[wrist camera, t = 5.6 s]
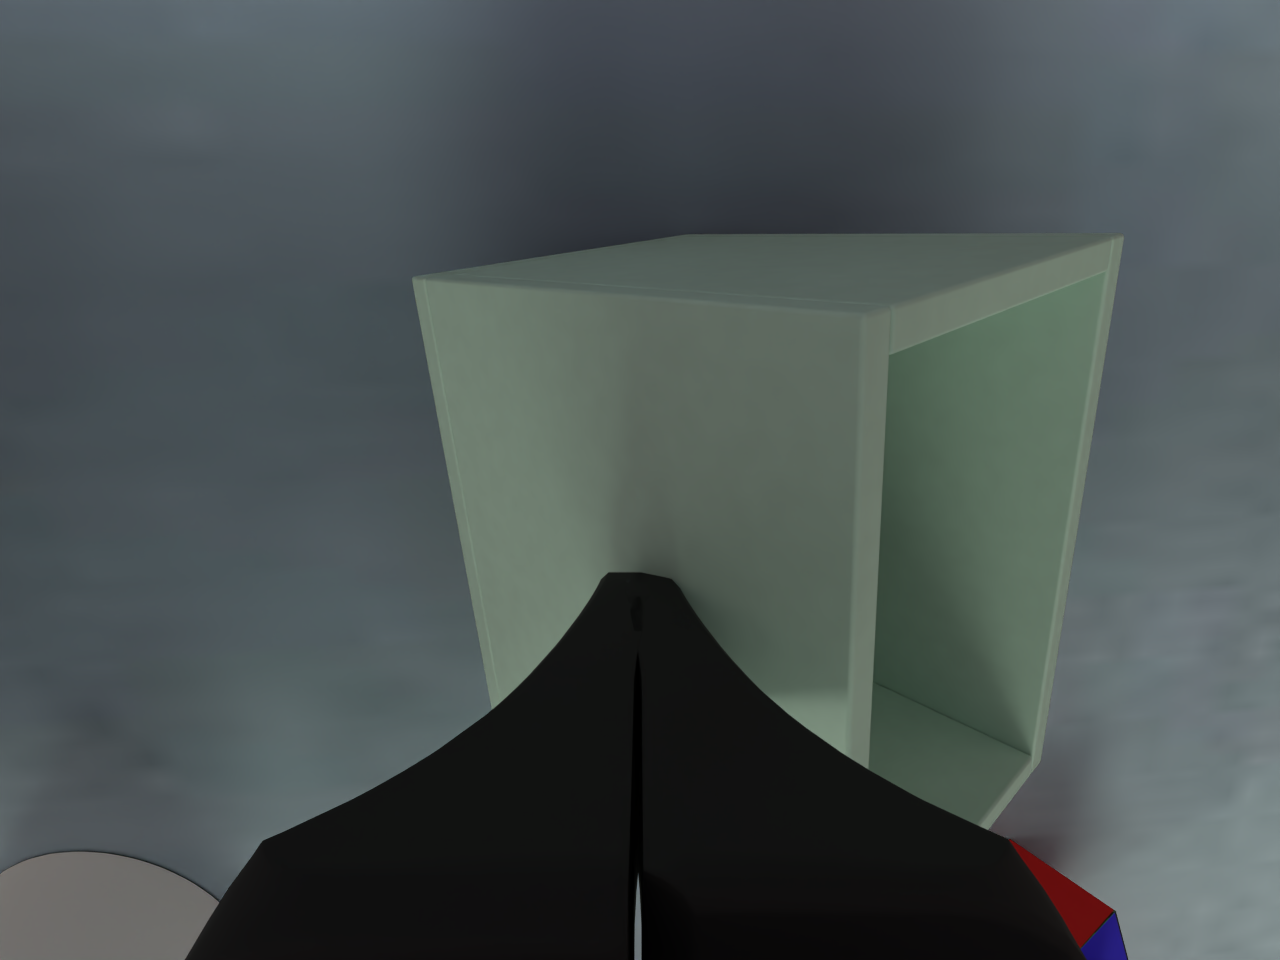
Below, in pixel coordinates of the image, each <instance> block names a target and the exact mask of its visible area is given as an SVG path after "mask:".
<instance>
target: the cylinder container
mask: <svg viewBox="0 0 1280 960" xmlns="http://www.w3.org/2000/svg"><path fill="white" fill-rule="evenodd" d="M218 904H219V902H218V901H217V900H216V899H215V898H213V897H212V896H211V895H210V894H208V893H207V892H205V891H204V890H202V889H201V888H200V887H198V886H197V885H195V884H193V883H192V882H190V881H188V880H187V879H185V878H183V877H181V876H179V875H177V874H175V873H173V872H170V871H168V870H166V869H164V868H161V867H158V866H156V865H153V864H150V863H147V862H144V861H140V860H137V859H133V858H129V857H124V856H119V855H114V854H107V853H97V852H64V853H54V854H48V855H43V856H39V857H35V858H31V859H28V860H25V861H23V862H21V863H18V864H16V865H14V866H12V867H10V868H8V869H7V870H5V871H3V872H2V873H1V874H0V960H185V958H186V957H187V955H188V953H189V952H190V950H191V948H192V947H193V945H194V943H195V942H196V940H197V938H198V937H199V935H200V933H201V931H202V930H203V928H204V926H205V925H206V923H207V921H208V920H209V918H210V916H211V915H212V913H213V912H214V910H215V909H216V907H217V906H218Z"/></svg>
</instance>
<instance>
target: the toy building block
mask: <svg viewBox="0 0 1280 960" xmlns="http://www.w3.org/2000/svg"><path fill="white" fill-rule="evenodd" d="M1009 841H1010V842H1011V843H1012V845H1013V846H1014V848H1015V849H1016V851H1017V852H1018V854H1019V855H1020V857H1021V858H1022V859H1023V861H1024V862H1025V864H1026V865H1027V866H1028V868H1029V869H1030V870H1031V872H1032V873H1033V874H1034V876H1035V877H1036V879H1037V880H1038V881H1039V883H1040V884H1041V885H1042V887H1043V888H1044V890H1045V891H1046V893H1047V894H1048V896H1049V898H1050V899H1051V901H1052V902H1053V904H1054V905H1055V907H1056V908H1057V910H1058V912H1059V913H1060V915H1061V916H1062V918H1063V920H1064V921H1065V923H1066V925H1067V927H1068V928H1069V930H1070V932H1071V934H1072V935H1073V937H1074V939H1075V940H1076V942H1077V944H1078V945H1079V947H1080V949H1081V951H1082V952H1083V954H1084V956H1085V957H1086V959H1087V960H1128V957H1127V953H1126V949H1125V945H1124V941H1123V937H1122V934H1121V930H1120V926H1119V922H1118V918H1117V914H1116V911H1115V910H1113V909H1112V908H1110V907H1109V906H1107V905H1106V904H1104V903H1103V902H1102V901H1100V900H1099V899H1097V898H1096V897H1094V896H1093V895H1091V894H1090V893H1088V892H1087V891H1085V890H1084V889H1082V888H1081V887H1080V886H1078V885H1077V884H1075V883H1074V882H1072V881H1071V880H1069V879H1068V878H1066V877H1065V876H1063V875H1062V874H1060V873H1059V872H1058V871H1056V870H1055V869H1053V868H1052V867H1050V866H1049V865H1047V864H1046V863H1044V862H1043V861H1041V860H1040V859H1039V858H1037V857H1036V856H1034V855H1033V854H1031V853H1030V852H1028V851H1027V850H1025V849H1024V848H1022V847H1021V846H1019V845H1018V844H1017V843H1015V842H1014V841H1012V840H1011V839H1009Z"/></svg>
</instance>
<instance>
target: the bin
mask: <svg viewBox="0 0 1280 960" xmlns="http://www.w3.org/2000/svg"><path fill="white" fill-rule="evenodd" d="M1123 240H1124V236H1123V234H1121V233H969V234H701V235H700V234H686V235H679V236H673V237H666V238H660V239H653V240H647V241H640V242H634V243H627V244H621V245H614V246H608V247H601V248H595V249H588V250H582V251H575V252H569V253H562V254H556V255H549V256H543V257H536V258H530V259H523V260H517V261H510V262H504V263H497V264H491V265H485V266H478V267H472V268H465V269H459V270H452V271H446V272H439V273H433V274H426V275H420V276H415V277H413V278H412V282H413V288H414V293H415V298H416V304H417V309H418V315H419V320H420V325H421V331H422V336H423V341H424V347H425V352H426V358H427V363H428V368H429V374H430V379H431V384H432V390H433V395H434V401H435V406H436V411H437V417H438V422H439V427H440V433H441V438H442V444H443V449H444V454H445V460H446V465H447V471H448V476H449V481H450V487H451V492H452V497H453V503H454V508H455V514H456V519H457V524H458V530H459V535H460V540H461V546H462V551H463V557H464V562H465V567H466V573H467V578H468V583H469V589H470V594H471V600H472V605H473V610H474V616H475V621H476V626H477V632H478V637H479V643H480V648H481V653H482V659H483V664H484V669H485V675H486V680H487V686H488V691H489V696H490V702H491V707H492V709H493V708H495V707H496V706H497V705H498V704H499V703H500V702H501V701H503V700H504V699H505V698H506V697H507V696H508V695H509V694H510V693H511V692H512V691H513V690H514V689H516V688H517V687H518V686H519V685H520V684H521V683H522V682H523V681H524V680H525V679H526V678H527V677H528V676H529V675H530V673H531V672H532V671H533V670H534V669H535V668H536V667H537V666H538V665H539V663H540V662H541V661H542V660H543V659H544V658H545V657H546V656H547V655H548V653H549V652H550V651H551V650H552V649H553V648H554V647H555V646H556V644H557V643H558V642H559V641H560V639H561V638H562V637H563V636H564V634H565V633H566V632H567V630H568V629H569V628H570V626H571V625H572V624H573V622H574V621H575V620H576V618H577V617H578V616H579V614H580V613H581V611H582V610H583V609H584V607H585V606H586V604H587V603H588V601H589V600H590V598H591V596H592V595H593V593H594V591H595V590H596V588H597V586H598V584H599V582H600V580H601V579H602V578H603V577H604V576H605V575H606V574H607V573H608V572H642V573H647V574H652V575H657V576H661V577H666V578H670V579H672V580H673V581H674V582H675V583H676V584H677V585H678V586H679V587H680V589H681V591H682V592H683V594H684V596H685V597H686V599H687V601H688V602H689V604H690V605H691V607H692V608H693V610H694V611H695V613H696V614H697V616H698V617H699V618H700V620H701V621H702V623H703V624H704V625H705V627H706V628H707V629H708V631H709V632H710V633H711V634H712V636H713V637H714V638H715V639H716V641H717V642H718V643H719V645H720V646H721V647H722V648H723V650H724V651H725V652H726V653H727V654H728V655H729V657H730V658H731V659H732V660H733V661H734V662H735V663H736V664H737V665H738V667H739V668H740V669H741V670H742V671H743V672H744V673H745V674H746V675H747V676H748V677H749V678H750V679H751V680H752V682H753V683H754V684H755V685H756V686H757V687H758V688H759V689H760V690H762V691H763V692H764V693H765V694H766V695H767V696H768V697H769V698H770V699H772V700H773V701H774V702H775V703H776V704H777V705H779V706H780V707H781V708H782V709H783V710H784V711H785V712H787V713H788V714H789V715H790V716H792V717H793V718H794V719H795V720H797V721H798V722H799V723H801V724H802V725H803V726H804V727H806V728H807V729H809V730H810V731H811V732H813V733H814V734H816V735H817V736H819V737H820V738H821V739H823V740H824V741H826V742H827V743H828V744H830V745H831V746H833V747H834V748H836V749H837V750H838V751H840V752H841V753H843V754H844V755H846V756H848V757H849V758H851V759H852V760H854V761H856V762H857V763H859V764H860V765H862V766H864V767H865V768H867V769H868V770H870V771H872V772H874V773H875V774H877V775H879V776H881V777H882V778H884V779H886V780H888V781H890V782H891V783H893V784H895V785H897V786H898V787H900V788H902V789H904V790H906V791H907V792H909V793H911V794H913V795H915V796H917V797H918V798H920V799H922V800H924V801H926V802H929V803H931V804H933V805H935V806H937V807H939V808H941V809H944V810H946V811H948V812H950V813H952V814H954V815H956V816H959V817H961V818H963V819H965V820H967V821H969V822H972V823H974V824H976V825H978V826H980V827H982V828H984V829H987V830H989V828H990V827H991V826H992V824H993V823H994V822H995V820H996V819H997V818H998V817H999V815H1000V814H1001V813H1002V811H1003V810H1004V809H1005V807H1006V806H1007V805H1008V803H1009V802H1010V801H1011V799H1012V798H1013V797H1014V796H1015V794H1016V793H1017V792H1018V790H1019V789H1020V788H1021V786H1022V785H1023V784H1024V782H1025V781H1026V780H1027V779H1028V777H1029V776H1030V773H1032V772H1033V771H1034V769H1035V768H1036V767H1037V765H1038V764H1039V763H1040V761H1041V755H1042V749H1043V743H1044V736H1045V730H1046V724H1047V718H1048V711H1049V705H1050V699H1051V692H1052V686H1053V680H1054V674H1055V667H1056V661H1057V655H1058V648H1059V642H1060V636H1061V630H1062V623H1063V617H1064V611H1065V604H1066V598H1067V592H1068V586H1069V579H1070V573H1071V567H1072V560H1073V554H1074V548H1075V542H1076V535H1077V529H1078V523H1079V516H1080V510H1081V504H1082V498H1083V491H1084V485H1085V479H1086V473H1087V466H1088V460H1089V454H1090V447H1091V441H1092V435H1093V429H1094V422H1095V416H1096V410H1097V403H1098V397H1099V391H1100V385H1101V378H1102V372H1103V366H1104V359H1105V353H1106V347H1107V341H1108V334H1109V328H1110V322H1111V315H1112V309H1113V303H1114V297H1115V290H1116V284H1117V278H1118V271H1119V265H1120V259H1121V253H1122V246H1123Z"/></svg>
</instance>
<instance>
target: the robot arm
mask: <svg viewBox="0 0 1280 960" xmlns="http://www.w3.org/2000/svg"><path fill="white" fill-rule="evenodd" d="M638 875H639V886H640V903H641V923H642V960H1087V959H1086V957H1085V956H1084V954H1083V952H1082V951H1081V949H1080V947H1079V945H1078V944H1077V942H1076V940H1075V939H1074V937H1073V935H1072V934H1071V932H1070V930H1069V928H1068V927H1067V925H1066V923H1065V921H1064V920H1063V918H1062V916H1061V915H1060V913H1059V912H1058V910H1057V908H1056V907H1055V905H1054V904H1053V902H1052V901H1051V899H1050V898H1049V896H1048V894H1047V893H1046V891H1045V890H1044V888H1043V887H1042V885H1041V884H1040V883H1039V881H1038V880H1037V879H1036V877H1035V876H1034V874H1033V873H1032V872H1031V870H1030V869H1029V868H1028V866H1027V865H1026V864H1025V862H1024V861H1023V859H1022V858H1021V857H1020V855H1019V854H1018V852H1017V851H1016V849H1015V848H1014V846H1013V845H1012V843H1011V842H1010V841H1009V840H1008V839H1006V838H1004V837H1002V836H1000V835H997V834H995V833H993V832H991V831H989V830H987V829H984V828H982V827H980V826H978V825H976V824H974V823H972V822H969V821H967V820H965V819H963V818H961V817H959V816H956V815H954V814H952V813H950V812H948V811H946V810H944V809H941V808H939V807H937V806H935V805H933V804H931V803H929V802H926V801H924V800H922V799H920V798H918V797H917V796H915V795H913V794H911V793H909V792H907V791H906V790H904V789H902V788H900V787H898V786H897V785H895V784H893V783H891V782H890V781H888V780H886V779H884V778H882V777H881V776H879V775H877V774H875V773H874V772H872V771H870V770H868V769H867V768H865V767H864V766H862V765H860V764H859V763H857V762H856V761H854V760H852V759H851V758H849V757H848V756H846V755H844V754H843V753H841V752H840V751H838V750H837V749H836V748H834V747H833V746H831V745H830V744H828V743H827V742H826V741H824V740H823V739H821V738H820V737H819V736H817V735H816V734H814V733H813V732H811V731H810V730H809V729H807V728H806V727H804V726H803V725H802V724H801V723H799V722H798V721H797V720H795V719H794V718H793V717H792V716H790V715H789V714H788V713H787V712H785V711H784V710H783V709H782V708H781V707H780V706H779V705H777V704H776V703H775V702H774V701H773V700H772V699H770V698H769V697H768V696H767V695H766V694H765V693H764V692H763V691H762V690H760V689H759V688H758V687H757V686H756V685H755V684H754V683H753V682H752V680H751V679H750V678H749V677H748V676H747V675H746V674H745V673H744V672H743V671H742V670H741V669H740V668H739V667H738V665H737V664H736V663H735V662H734V661H733V660H732V659H731V658H730V657H729V655H728V654H727V653H726V652H725V651H724V650H723V648H722V647H721V646H720V645H719V643H718V642H717V641H716V639H715V638H714V637H713V636H712V634H711V633H710V632H709V631H708V629H707V628H706V627H705V625H704V624H703V623H702V621H701V620H700V618H699V617H698V616H697V614H696V613H695V611H694V610H693V608H692V607H691V605H690V604H689V602H688V601H687V599H686V597H685V596H684V594H683V592H682V591H681V589H680V587H679V586H678V585H677V584H676V583H675V582H674V581H673V580H672V579H670V578H666V577H661V576H657V575H652V574H647V573H642V572H608V573H607V574H606V575H605V576H604V577H603V578H602V579H601V580H600V582H599V584H598V586H597V588H596V590H595V591H594V593H593V595H592V596H591V598H590V600H589V601H588V603H587V604H586V606H585V607H584V609H583V610H582V611H581V613H580V614H579V616H578V617H577V618H576V620H575V621H574V622H573V624H572V625H571V626H570V628H569V629H568V630H567V632H566V633H565V634H564V636H563V637H562V638H561V639H560V641H559V642H558V643H557V644H556V646H555V647H554V648H553V649H552V650H551V651H550V652H549V653H548V655H547V656H546V657H545V658H544V659H543V660H542V661H541V662H540V663H539V665H538V666H537V667H536V668H535V669H534V670H533V671H532V672H531V673H530V675H529V676H528V677H527V678H526V679H525V680H524V681H523V682H522V683H521V684H520V685H519V686H518V687H517V688H516V689H514V690H513V691H512V692H511V693H510V694H509V695H508V696H507V697H506V698H505V699H504V700H503V701H501V702H500V703H499V704H498V705H497V706H496V707H495V708H493V709H492V710H491V711H490V712H489V713H488V714H487V715H485V716H484V717H483V718H481V719H480V720H479V721H477V722H476V723H474V724H473V725H472V726H470V727H469V728H468V729H466V730H465V731H463V732H462V733H461V734H459V735H458V736H456V737H455V738H454V739H452V740H451V741H450V742H448V743H447V744H445V745H444V746H443V747H441V748H440V749H438V750H437V751H435V752H434V753H432V754H431V755H429V756H428V757H426V758H424V759H423V760H421V761H419V762H418V763H416V764H415V765H413V766H411V767H410V768H408V769H407V770H405V771H403V772H401V773H400V774H398V775H396V776H394V777H393V778H391V779H389V780H387V781H386V782H384V783H382V784H380V785H378V786H377V787H375V788H373V789H371V790H369V791H367V792H366V793H364V794H362V795H360V796H358V797H356V798H354V799H352V800H350V801H348V802H346V803H344V804H342V805H340V806H338V807H335V808H333V809H331V810H329V811H327V812H325V813H323V814H321V815H318V816H316V817H314V818H312V819H310V820H308V821H306V822H304V823H301V824H299V825H297V826H295V827H293V828H291V829H289V830H287V831H284V832H282V833H280V834H277V835H275V836H273V837H270V838H268V839H266V840H263V841H262V843H261V844H260V845H259V847H258V848H257V850H256V851H255V853H254V854H253V856H252V857H251V859H250V860H249V861H248V863H247V864H246V865H245V867H244V868H243V869H242V871H241V872H240V873H239V875H238V876H237V877H236V879H235V880H234V882H233V883H232V884H231V886H230V887H229V888H228V890H227V892H226V893H225V895H224V896H223V898H222V899H221V901H220V902H219V904H218V906H217V907H216V909H215V910H214V912H213V913H212V915H211V916H210V918H209V920H208V921H207V923H206V925H205V926H204V928H203V930H202V931H201V933H200V935H199V937H198V938H197V940H196V942H195V943H194V945H193V947H192V948H191V950H190V952H189V953H188V955H187V957H186V958H185V960H634V933H635V907H636V889H637V879H638Z"/></svg>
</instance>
